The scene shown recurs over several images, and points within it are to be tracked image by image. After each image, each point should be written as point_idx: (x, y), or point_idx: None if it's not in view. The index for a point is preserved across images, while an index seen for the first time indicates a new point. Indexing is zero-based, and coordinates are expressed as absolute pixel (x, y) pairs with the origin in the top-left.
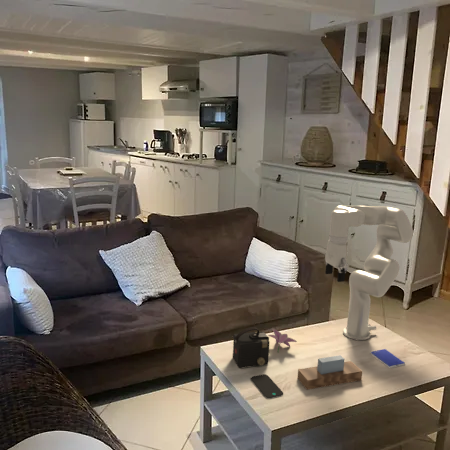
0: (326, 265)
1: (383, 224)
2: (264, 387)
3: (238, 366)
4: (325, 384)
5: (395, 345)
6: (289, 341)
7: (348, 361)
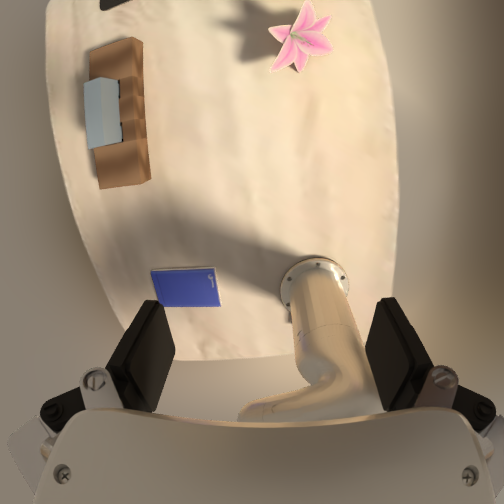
0: (421, 364)
1: None
2: None
3: None
4: None
5: (240, 333)
6: (291, 60)
7: (139, 176)
